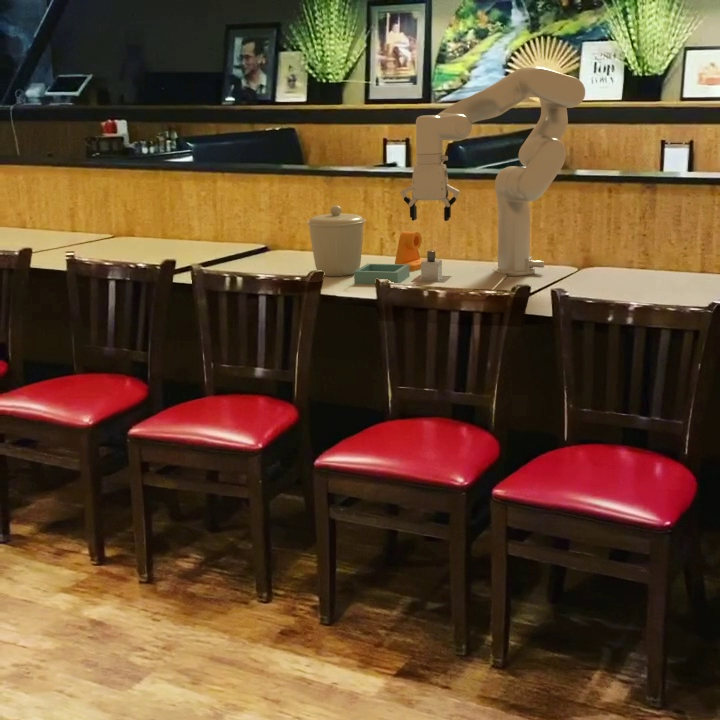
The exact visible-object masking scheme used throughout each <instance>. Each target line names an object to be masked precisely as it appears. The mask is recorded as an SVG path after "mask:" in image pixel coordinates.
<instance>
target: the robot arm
mask: <svg viewBox="0 0 720 720" xmlns="http://www.w3.org/2000/svg"><path fill="white" fill-rule="evenodd" d="M585 96H586V88H585V86H584V84H583V82H582V81H581V80H580V79H579V78H577V77H574V76H571V75H567V74H565V73H562V72H558V71H555V70H552V69H549V68H545V67H542V66H527V67H526V66H525V67H524V66H523V67H521V68H517V69H516V70H514V71H512V72H511V73H509V74H508V75H506V76H504V77H503V78H501V79H500V80H498V81H496V82H495V83H492V84H491V85H490V86H488V87H486V88H485V89H483V90H480V91H478V92H476V93H474V94H472V95H469V96H468V97H465V98H463V99H461V100H458V101H457V102H455V103H454V104H452V105H449V107H447V108H445V109H443V110H442V111H440V112H439V113H437V114H435V115H434V114H431V115H430V114H428V115H420V116H418V117H416V120H415V145H416V147H415V149H416V151H415V153H416V154H415V155H416V156H415V157H416V159H415V160H416V164H415V165H414V166H413V171H412V178H411V179H412V180H411V185H410V186H408V187H406V188H404V189H402V190H401V191H400V195H401V197H402V198H403V201H404V202H405V203H406V204H407V205H408V207H409V217H410V218H411V222H412V221H416V220H417V219H418V217H417V216H418V211H417V210H418V209H417V205H416V203H417V202H418V201H441V202H442V203H443V204H444V208H443V213H444V214H443V216H444V217H443V220H444V221H445V222H448V221H449V220H450V218H451V217H452V216H451V215H452V210H451V209H452V208H451V207H452V205H453V204H454V203H455V202H456V201H457V199H458V197H459V196H460V194H461V191H460V190H459V189H457V188H455V187H453V186H451V185H450V184H449V177H448V169H447V165H446V164H444V162H445V161H448V160H449V157H448V155H445V154H444V151H443V150H444V149H443V148H444V144H443V143H444V142H443V141H451V142H452V141H454V142H459V141H463V140H465V139H466V138H468V137H469V136H470V135H471V133H472V130H473V126H472V124H474V123H476V122H480V121H484V120H489V119H490V120H491V119H493V118H496V117H499V116H501V115H503V114H504V113H507V111H509V110H511V109H512V108H513V107H515V106H517V105H519V104H520V103H522V102H523V101H525V100H527V99H528V98H538V99H539V103H540V110H541V111H540V117H539V119H538V121H537V123H536V124H535V126H534V128H533V129H532V130H531V132H530V134H529V135H528V136H527V138H526V139H525V140H524V143H523V144H522V145H521V146H520V148H519V152H518V160H519V163H521V165H523V166H524V167H523V166H516V165H515V166H514V165H513V166H512V165H511V166H506V167H505V168H502V169H501V170H500V171H499V172H498V173H497V175H496V177H495V179H494V180H495V181H494V190H495V195H496V200H497V201H496V204H497V266H495V267H493V268H492V271H493V272H495V273H501V274H504V276H508V277H513V276H514V277H515V276H516V277H517V276H520V277H521V276H527V275H532V274H534V273H535V272H536V269H535V268H542V269H543V268H545V261H543V260H534V259H533V256H532V255H531V254H530V253H531V251H530V250H531V245H530V242H531V240H530V239H531V209H530V204H529V203H530V202H536V201H537V200H539V199H541V197H542V196H543V195H544V194H545V193H546V191H547V190H548V188H549V187H550V186H551V184H552V183H553V181H554V180H555V178H556V177H557V175H558V174H559V172H561V170H562V168H563V166H564V164H565V161H566V158H567V150H566V146H565V145H564V143H563V141H562V138H563V137H564V135H565V133H566V131H567V128H568V125H569V124H568V123H569V120H568V110H567V109H573V108H575V107H576V108H577V107H578V106H580V104H581V103H583V101H584V99H585ZM410 192H411V197H412V198H410V197H409V196H408V193H410ZM450 193H452V194H453V195H452V197H451V199H449V195H450ZM530 255H531V256H530Z"/></svg>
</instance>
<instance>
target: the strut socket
mask: <svg viewBox="0 0 720 720" xmlns="http://www.w3.org/2000/svg"><path fill="white" fill-rule="evenodd" d="M426 256H427V257H426V258H425V260H423V261H422V262H421V269H420V275H421V280H434V281H438V280H439V279H441V278H442V276H443V259H441V258H440V259H438V258H437V259H436V250H427V251H426Z"/></svg>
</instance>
